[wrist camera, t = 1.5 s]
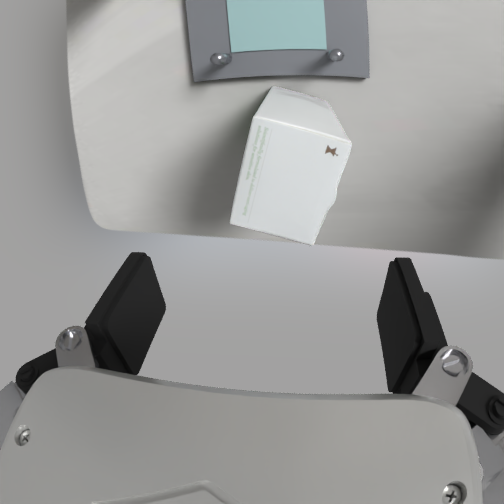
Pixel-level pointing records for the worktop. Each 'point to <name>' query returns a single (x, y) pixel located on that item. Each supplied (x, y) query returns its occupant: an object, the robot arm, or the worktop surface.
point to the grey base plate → (278, 37)
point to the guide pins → (227, 58)
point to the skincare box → (290, 166)
